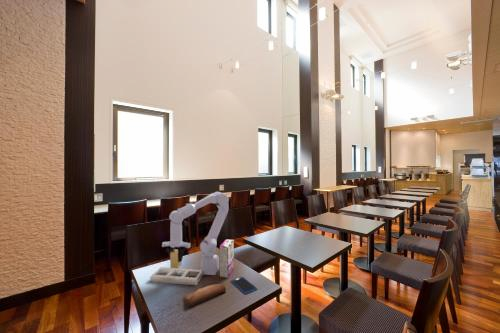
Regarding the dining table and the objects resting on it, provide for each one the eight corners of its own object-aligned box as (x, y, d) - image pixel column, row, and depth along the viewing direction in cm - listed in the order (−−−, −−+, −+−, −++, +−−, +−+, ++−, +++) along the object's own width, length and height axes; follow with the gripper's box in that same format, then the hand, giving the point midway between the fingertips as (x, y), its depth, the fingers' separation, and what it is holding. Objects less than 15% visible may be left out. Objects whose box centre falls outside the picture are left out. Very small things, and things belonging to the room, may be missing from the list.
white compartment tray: (203, 274, 114) (203, 270, 114) (196, 285, 104) (196, 280, 104) (161, 271, 117) (161, 267, 117) (150, 281, 107) (150, 276, 107)
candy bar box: (225, 267, 122) (225, 238, 122) (234, 268, 121) (234, 239, 121) (219, 277, 111) (219, 246, 111) (228, 278, 110) (228, 246, 110)
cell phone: (242, 277, 112) (242, 276, 112) (258, 290, 100) (258, 288, 100) (230, 281, 108) (230, 280, 108) (245, 295, 96) (245, 294, 96)
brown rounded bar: (216, 284, 105) (220, 275, 102) (223, 297, 100) (227, 288, 97) (180, 298, 93) (184, 289, 90) (186, 314, 88) (190, 304, 86)
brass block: (181, 264, 111) (181, 249, 111) (178, 268, 107) (177, 252, 107) (174, 264, 111) (174, 249, 111) (170, 268, 107) (170, 252, 107)
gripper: (158, 236, 106) (158, 263, 106) (186, 237, 104) (186, 265, 105) (165, 232, 113) (166, 257, 113) (192, 233, 111) (192, 259, 112)
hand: (176, 260), depth 109 cm, fingers closed on brass block, 4 cm apart
